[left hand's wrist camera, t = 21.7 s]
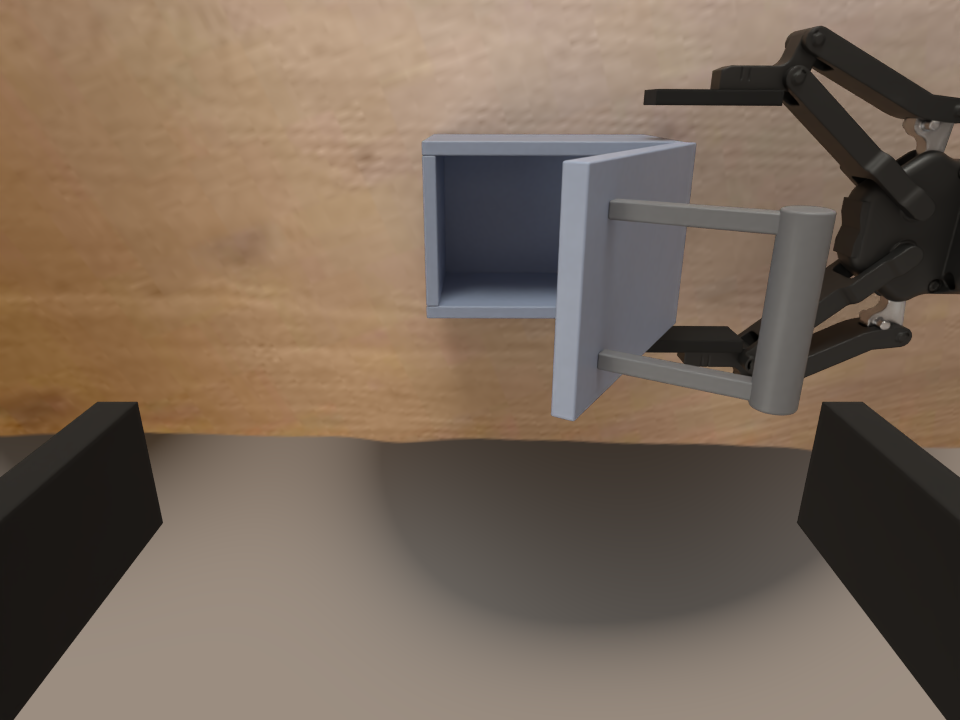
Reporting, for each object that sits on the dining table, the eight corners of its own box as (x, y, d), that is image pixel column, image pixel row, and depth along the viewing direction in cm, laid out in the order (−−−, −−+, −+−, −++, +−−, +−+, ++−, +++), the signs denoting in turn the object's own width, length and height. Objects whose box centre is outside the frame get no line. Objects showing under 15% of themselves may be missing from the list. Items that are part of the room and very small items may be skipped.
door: (550, 416, 25) (780, 474, 21) (561, 160, 22) (839, 173, 18) (657, 320, 37) (822, 347, 33) (677, 141, 33) (862, 147, 29)
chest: (436, 279, 45) (426, 318, 37) (433, 133, 42) (421, 141, 33) (631, 280, 45) (664, 319, 37) (644, 134, 42) (683, 141, 33)
